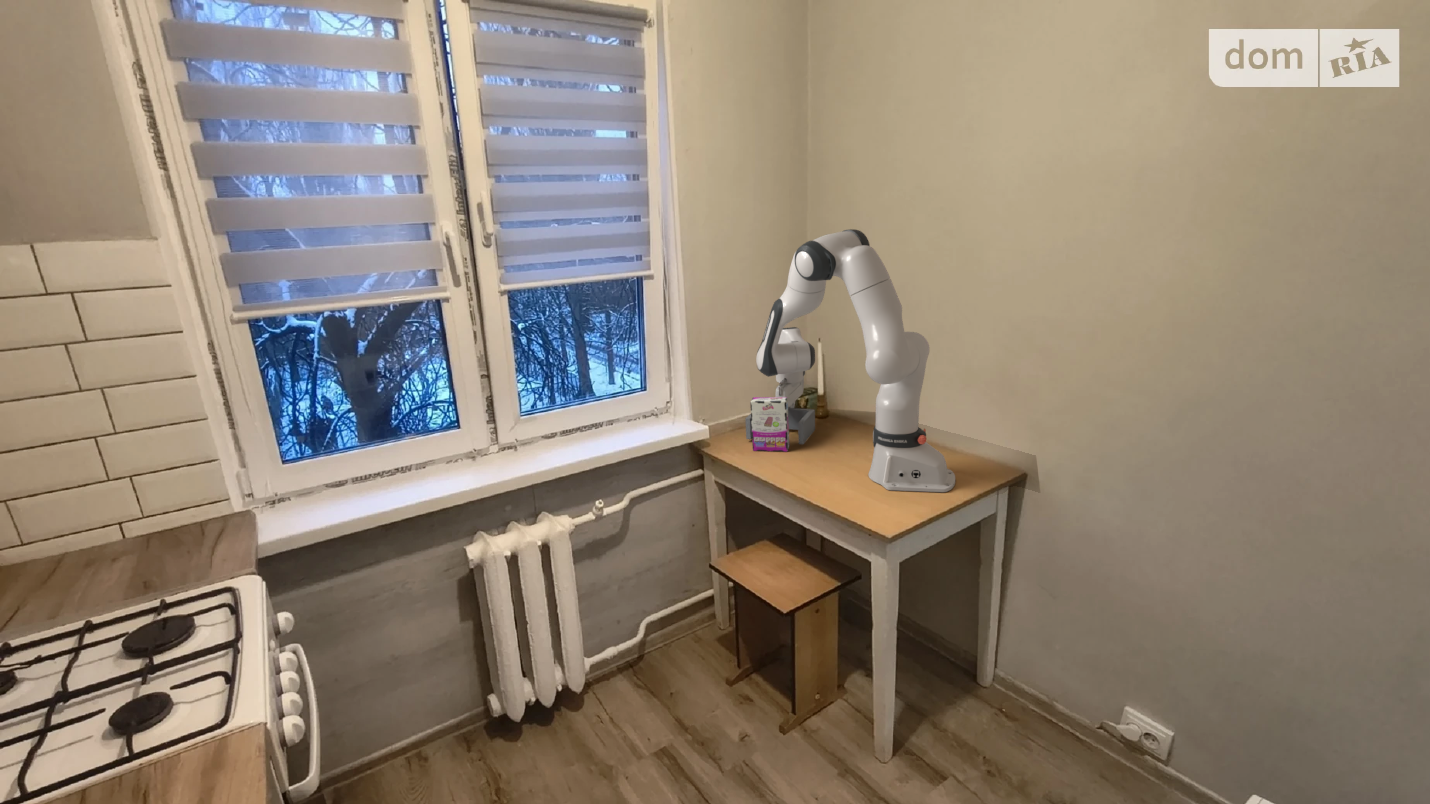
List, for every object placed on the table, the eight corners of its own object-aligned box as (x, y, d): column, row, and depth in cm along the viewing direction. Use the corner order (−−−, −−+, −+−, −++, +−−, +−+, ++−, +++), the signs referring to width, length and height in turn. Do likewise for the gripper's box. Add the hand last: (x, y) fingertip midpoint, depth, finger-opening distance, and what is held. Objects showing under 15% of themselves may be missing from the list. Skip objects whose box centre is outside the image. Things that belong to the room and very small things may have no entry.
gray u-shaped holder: (815, 431, 210) (815, 409, 208) (803, 446, 198) (803, 423, 196) (760, 426, 218) (760, 405, 216) (746, 440, 206) (745, 418, 204)
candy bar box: (789, 446, 200) (788, 396, 196) (788, 452, 196) (786, 401, 191) (754, 445, 203) (752, 396, 198) (752, 451, 198) (749, 401, 193)
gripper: (788, 383, 200) (789, 425, 204) (806, 368, 218) (807, 406, 222) (769, 382, 203) (771, 423, 207) (789, 367, 221) (790, 405, 225)
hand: (790, 414), depth 215 cm, fingers closed
